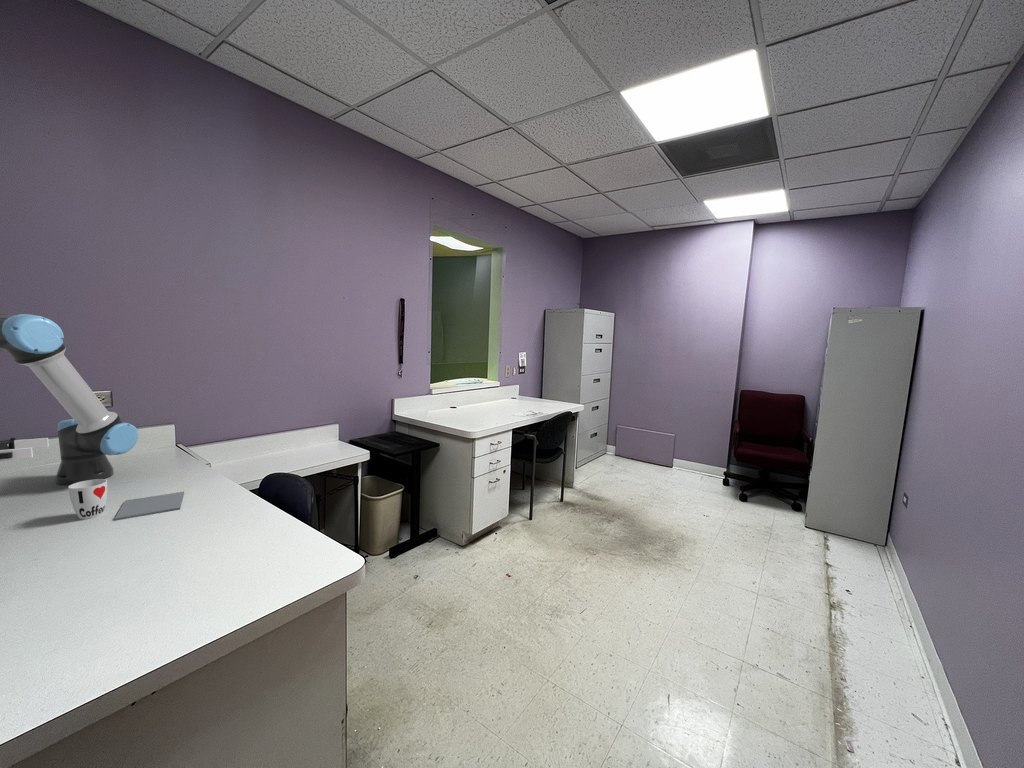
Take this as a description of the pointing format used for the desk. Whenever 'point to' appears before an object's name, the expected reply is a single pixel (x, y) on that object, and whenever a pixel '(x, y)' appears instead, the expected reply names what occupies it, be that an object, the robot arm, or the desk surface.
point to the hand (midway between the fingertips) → (40, 447)
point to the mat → (150, 505)
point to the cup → (89, 498)
